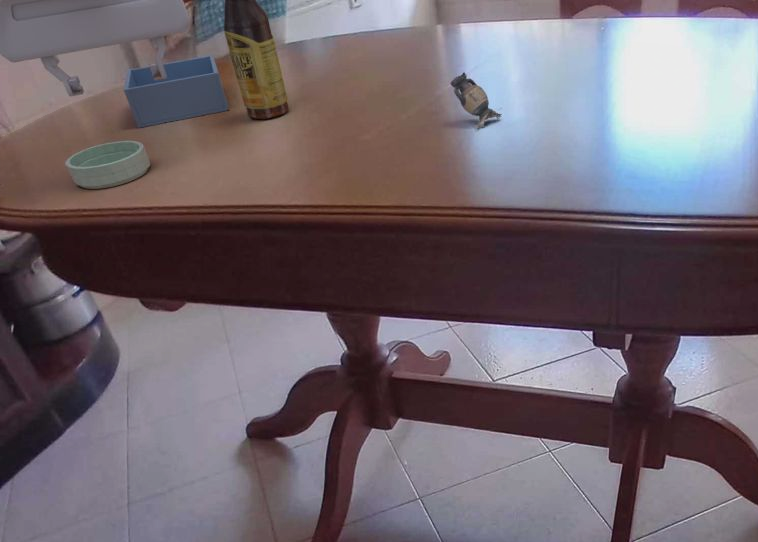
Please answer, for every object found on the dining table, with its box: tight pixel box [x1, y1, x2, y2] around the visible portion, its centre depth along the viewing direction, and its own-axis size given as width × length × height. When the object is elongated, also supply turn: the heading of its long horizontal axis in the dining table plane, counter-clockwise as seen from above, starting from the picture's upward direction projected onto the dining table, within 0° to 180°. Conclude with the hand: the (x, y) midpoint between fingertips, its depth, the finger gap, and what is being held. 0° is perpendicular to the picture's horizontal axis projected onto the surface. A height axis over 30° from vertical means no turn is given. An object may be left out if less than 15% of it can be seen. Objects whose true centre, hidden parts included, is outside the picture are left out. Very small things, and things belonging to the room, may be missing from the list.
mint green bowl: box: [64, 140, 151, 190], centre depth 87 cm, size 9×9×3 cm
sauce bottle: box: [223, 0, 290, 120], centre depth 97 cm, size 6×6×20 cm
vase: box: [450, 72, 503, 132], centre depth 90 cm, size 5×5×6 cm
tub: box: [123, 54, 230, 129], centre depth 108 cm, size 13×13×6 cm
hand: (119, 86), depth 83 cm, fingers open, 8 cm apart
